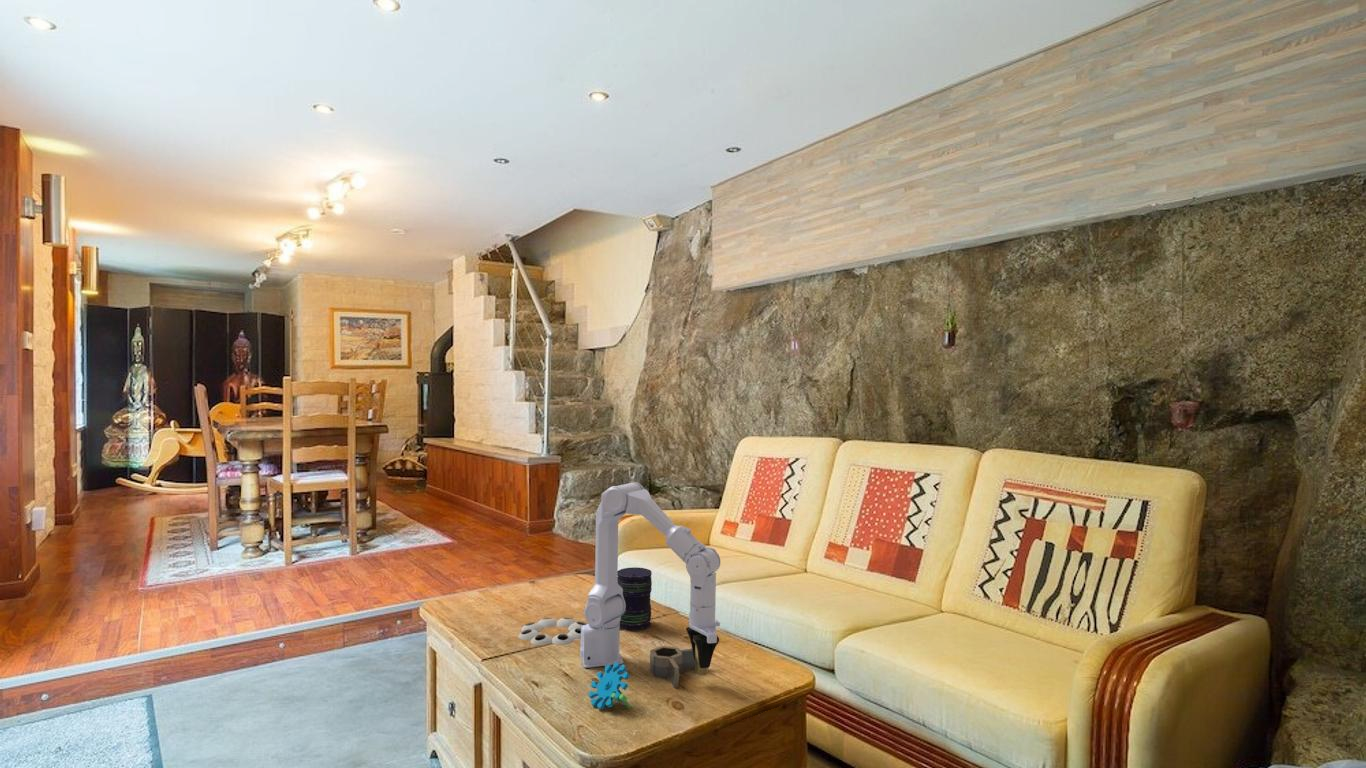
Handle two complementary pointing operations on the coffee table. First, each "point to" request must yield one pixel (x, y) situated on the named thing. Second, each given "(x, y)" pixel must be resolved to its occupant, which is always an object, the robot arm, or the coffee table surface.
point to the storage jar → (635, 598)
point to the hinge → (671, 662)
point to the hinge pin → (697, 667)
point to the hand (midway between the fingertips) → (701, 663)
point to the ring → (550, 622)
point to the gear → (610, 687)
